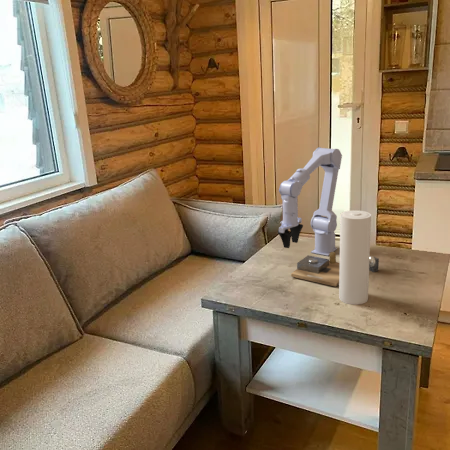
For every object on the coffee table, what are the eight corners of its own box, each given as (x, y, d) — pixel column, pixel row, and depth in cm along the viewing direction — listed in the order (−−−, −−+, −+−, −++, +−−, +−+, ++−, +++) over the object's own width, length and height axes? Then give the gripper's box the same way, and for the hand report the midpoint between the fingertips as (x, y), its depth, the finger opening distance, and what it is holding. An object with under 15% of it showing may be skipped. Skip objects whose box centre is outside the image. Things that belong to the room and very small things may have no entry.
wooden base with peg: (313, 260, 185) (313, 248, 184) (355, 268, 175) (356, 256, 173) (291, 276, 172) (291, 263, 170) (336, 286, 161) (336, 273, 160)
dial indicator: (372, 268, 176) (373, 253, 174) (379, 271, 172) (380, 256, 170) (365, 269, 175) (366, 255, 173) (372, 273, 171) (373, 258, 169)
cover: (308, 261, 181) (307, 254, 180) (329, 265, 176) (329, 258, 175) (297, 269, 175) (297, 261, 174) (318, 273, 169) (318, 266, 168)
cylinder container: (369, 305, 148) (372, 217, 139) (339, 303, 150) (341, 217, 141) (366, 292, 157) (369, 208, 148) (338, 291, 159) (339, 208, 150)
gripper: (290, 205, 182) (290, 237, 186) (271, 215, 171) (272, 249, 176) (306, 207, 178) (306, 240, 182) (287, 217, 167) (288, 252, 171)
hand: (290, 244), depth 179 cm, fingers open, 6 cm apart
